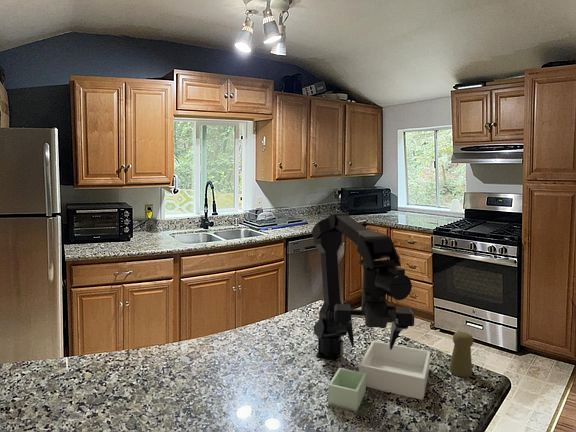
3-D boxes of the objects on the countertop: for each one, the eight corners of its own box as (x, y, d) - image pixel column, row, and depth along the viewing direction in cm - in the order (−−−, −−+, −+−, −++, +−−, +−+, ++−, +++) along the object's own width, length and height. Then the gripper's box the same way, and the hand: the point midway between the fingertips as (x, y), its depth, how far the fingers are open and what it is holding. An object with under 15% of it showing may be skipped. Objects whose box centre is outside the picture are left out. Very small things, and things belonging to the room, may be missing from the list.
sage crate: (327, 404, 100) (328, 384, 99) (338, 385, 108) (339, 367, 107) (356, 411, 97) (357, 391, 96) (365, 392, 105) (366, 373, 104)
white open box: (358, 385, 108) (359, 365, 108) (371, 358, 123) (372, 340, 122) (423, 400, 102) (424, 378, 101) (429, 370, 117) (430, 351, 116)
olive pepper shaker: (474, 378, 113) (477, 339, 111) (450, 375, 114) (453, 337, 112) (469, 367, 118) (472, 330, 117) (447, 364, 120) (449, 328, 118)
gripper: (335, 295, 94) (333, 361, 96) (421, 299, 92) (416, 366, 95) (335, 281, 105) (333, 340, 107) (411, 284, 103) (407, 344, 105)
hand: (371, 347), depth 103 cm, fingers open, 9 cm apart
